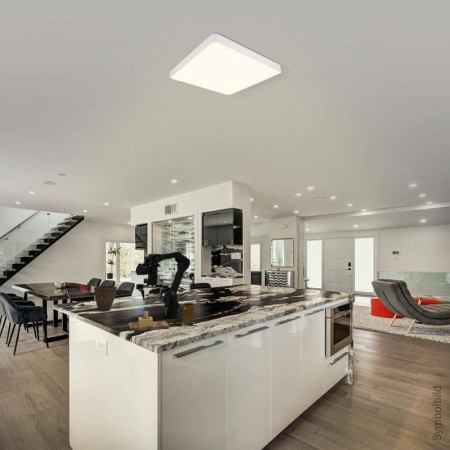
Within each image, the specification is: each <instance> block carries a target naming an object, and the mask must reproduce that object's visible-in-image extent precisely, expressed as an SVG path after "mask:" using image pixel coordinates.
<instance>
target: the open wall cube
mask: <svg viewBox="0 0 450 450" xmlns="http://www.w3.org/2000/svg"><path fill="white" fill-rule="evenodd" d="M153 322H154V319H153V317H152V316H148V319H143V316H140V317H138V321H137V323H138V324H139V326H140V327H143V326H152V325H153Z"/></svg>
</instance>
